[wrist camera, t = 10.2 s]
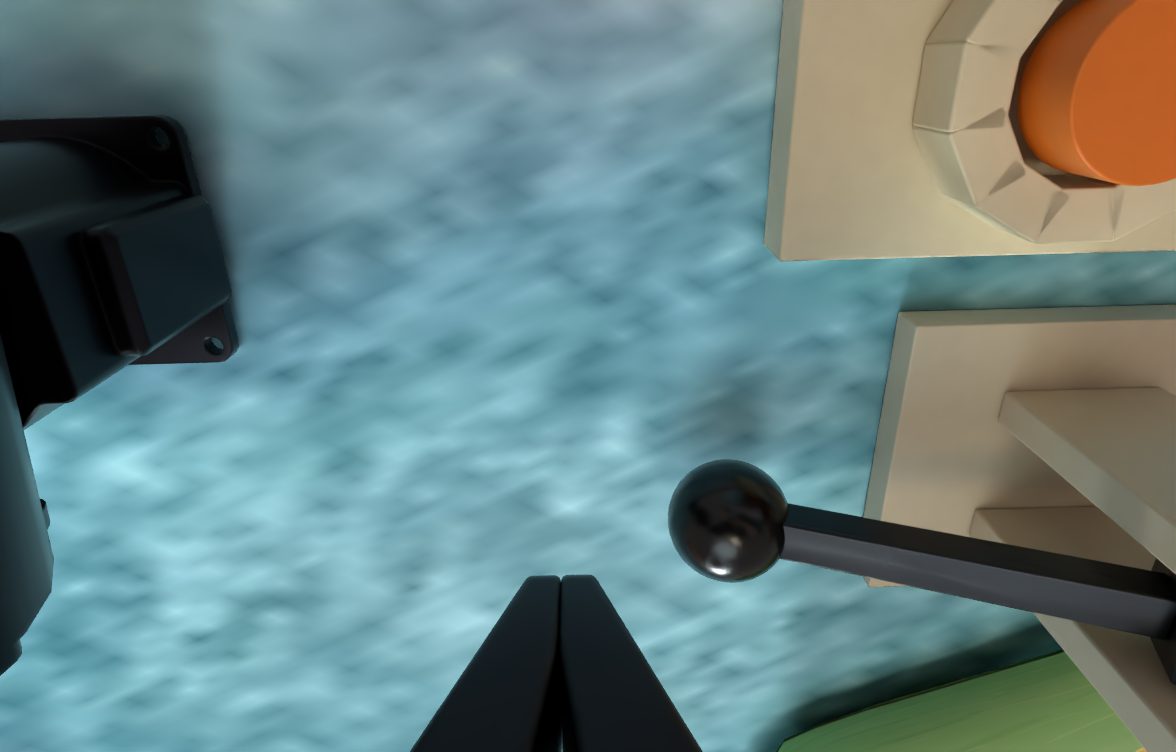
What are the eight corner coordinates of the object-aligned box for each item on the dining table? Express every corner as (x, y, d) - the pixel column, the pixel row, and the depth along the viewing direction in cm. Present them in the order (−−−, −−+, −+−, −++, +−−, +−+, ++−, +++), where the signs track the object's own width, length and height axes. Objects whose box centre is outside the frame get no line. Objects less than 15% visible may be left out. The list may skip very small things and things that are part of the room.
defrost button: (999, 175, 15) (1048, 189, 13) (1039, -14, 13) (1101, -24, 12) (1164, 171, 15) (1234, 183, 13) (1223, -20, 13) (1310, -30, 12)
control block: (763, 245, 19) (800, 283, 16) (791, -108, 15) (846, -152, 12) (1203, 233, 19) (1331, 268, 16) (1327, -122, 15) (1522, -171, 12)
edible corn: (713, 739, 27) (737, 863, 23) (1258, 533, 23) (1407, 637, 19) (765, 813, 29) (796, 939, 25) (1277, 635, 25) (1416, 749, 21)
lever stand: (855, 563, 23) (1010, 848, 15) (897, 311, 20) (1139, 501, 11) (1150, 555, 23) (1475, 836, 15) (1249, 301, 20) (1760, 485, 11)
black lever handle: (681, 522, 21) (652, 592, 18) (685, 429, 20) (654, 490, 17) (1266, 641, 16) (1343, 759, 13) (1323, 530, 15) (1421, 636, 12)
